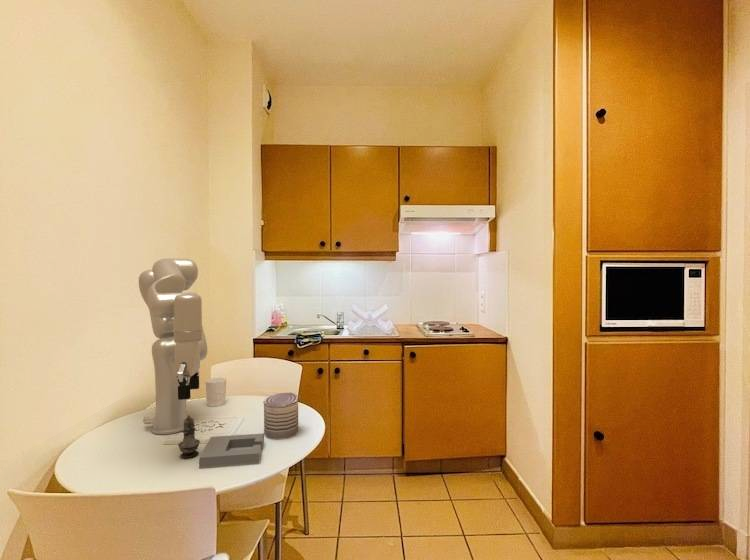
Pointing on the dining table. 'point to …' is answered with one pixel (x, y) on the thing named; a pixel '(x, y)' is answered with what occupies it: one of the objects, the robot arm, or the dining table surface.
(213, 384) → the white cup
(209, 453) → the plate
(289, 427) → the can
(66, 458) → the dining table surface
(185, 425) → the dark chess piece
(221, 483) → the dining table surface
